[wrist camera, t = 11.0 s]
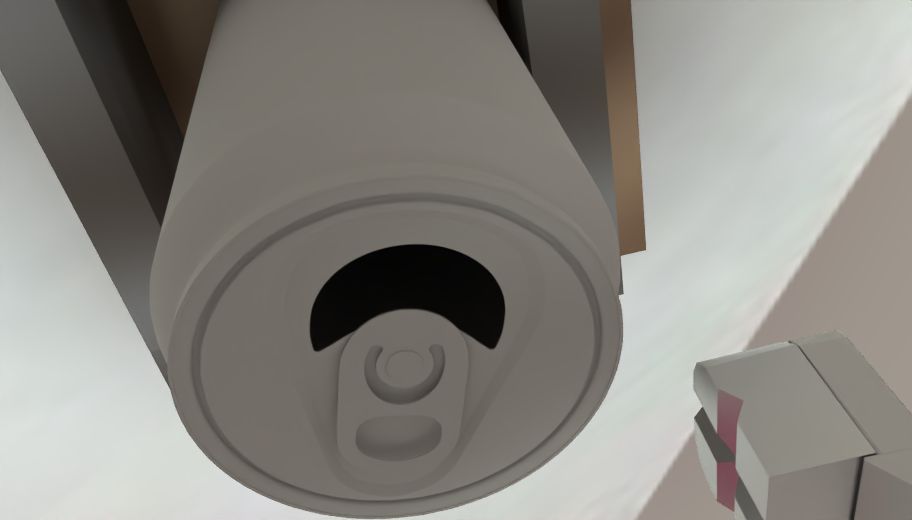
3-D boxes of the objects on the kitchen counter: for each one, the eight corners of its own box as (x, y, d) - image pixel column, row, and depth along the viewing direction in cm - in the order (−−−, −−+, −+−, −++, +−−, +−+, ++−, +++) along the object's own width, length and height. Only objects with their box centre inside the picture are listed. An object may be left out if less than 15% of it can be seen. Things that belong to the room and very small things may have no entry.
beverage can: (501, -88, 19) (720, 153, 9) (467, 162, 22) (597, 530, 12) (210, -115, 17) (94, 131, 8) (224, 155, 21) (156, 557, 11)
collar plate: (-115, -205, 17) (-260, -180, 13) (594, -365, 17) (679, -393, 13) (164, 340, 25) (132, 461, 21) (635, 232, 25) (695, 332, 21)
